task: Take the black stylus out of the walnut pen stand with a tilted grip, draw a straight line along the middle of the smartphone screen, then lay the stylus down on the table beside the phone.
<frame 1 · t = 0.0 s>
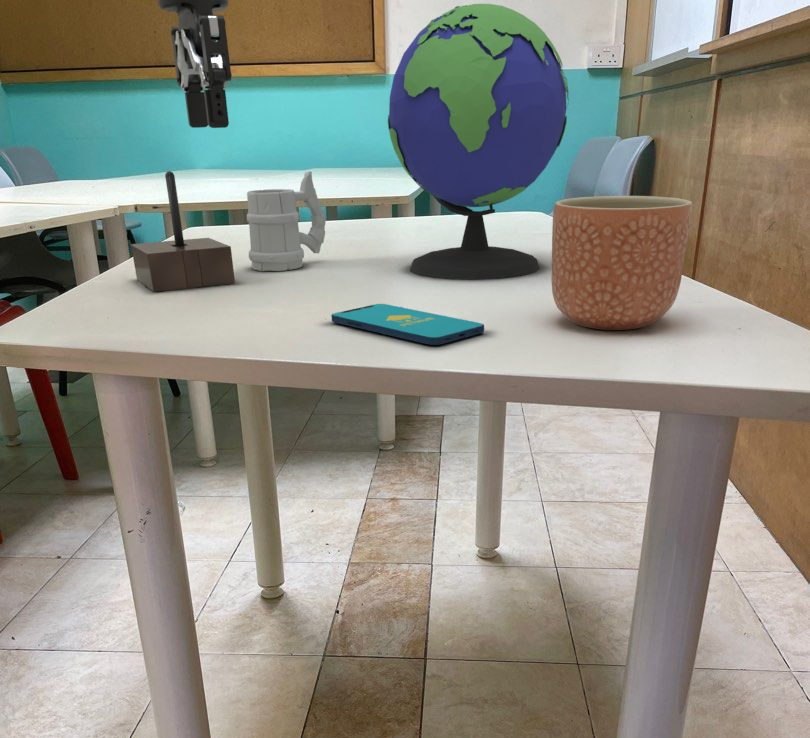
hand: (208, 127, 94), 18 cm above the table, tool pointing down, fingers open, 8 cm apart
globe: (474, 269, 109), on the table
smartphone: (405, 328, 79), on the table
stylus: (177, 228, 102), in the pen stand
mug: (290, 267, 115), on the table
planter: (610, 324, 79), on the table
pen stand: (185, 281, 105), on the table
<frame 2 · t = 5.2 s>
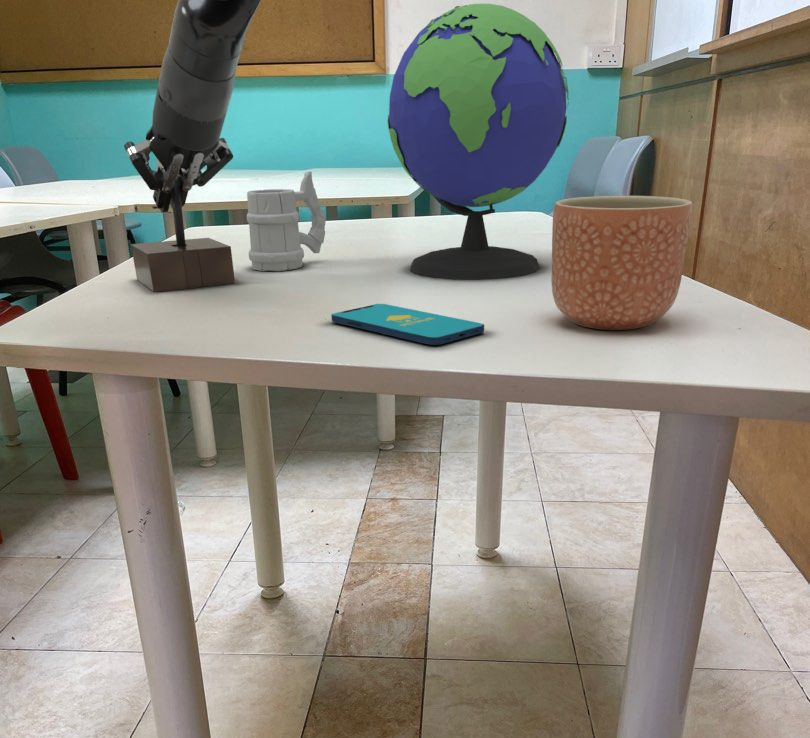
hand: (167, 206, 102), 9 cm above the table, tool tilted 45°, fingers closed on stylus, 1 cm apart
stylus: (179, 228, 102), in the pen stand, tilted 5°, touching gripper
everything else where it was.
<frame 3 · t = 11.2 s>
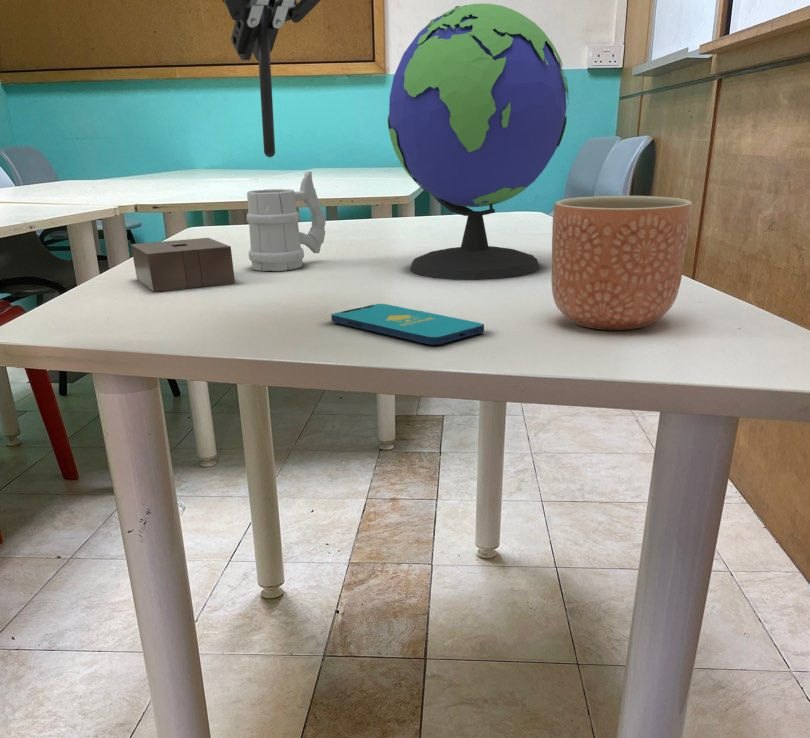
hand: (248, 53, 78), 24 cm above the table, tool tilted 45°, fingers closed on stylus, 1 cm apart
stylus: (265, 81, 77), point 22 cm above the table, touching gripper
everything else where it was.
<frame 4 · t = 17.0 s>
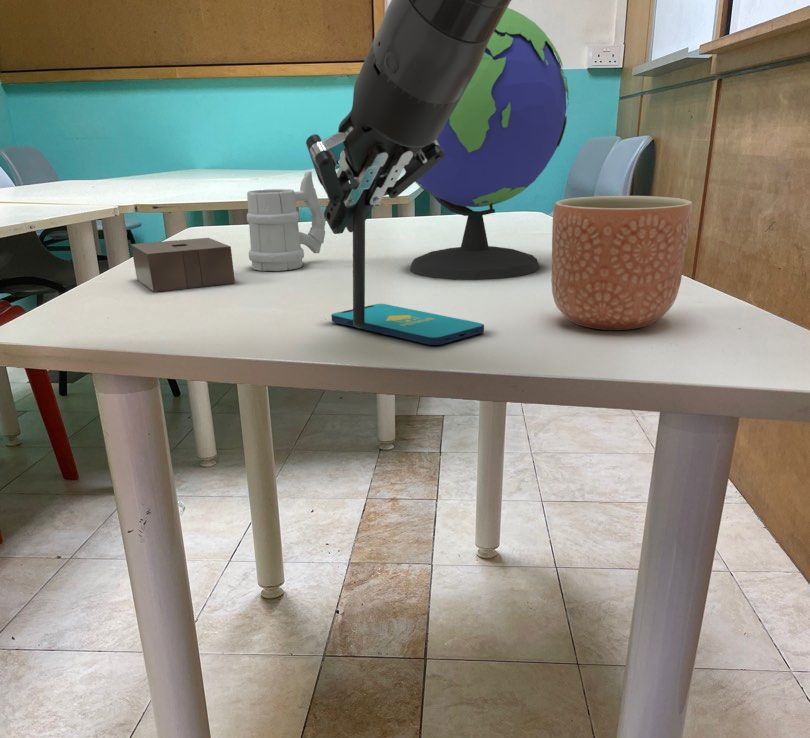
hand: (340, 225, 74), 10 cm above the table, tool tilted 45°, fingers closed on stylus, 1 cm apart
stylus: (358, 256, 73), point 7 cm above the table, tilted 5°, touching gripper
everything else where it was.
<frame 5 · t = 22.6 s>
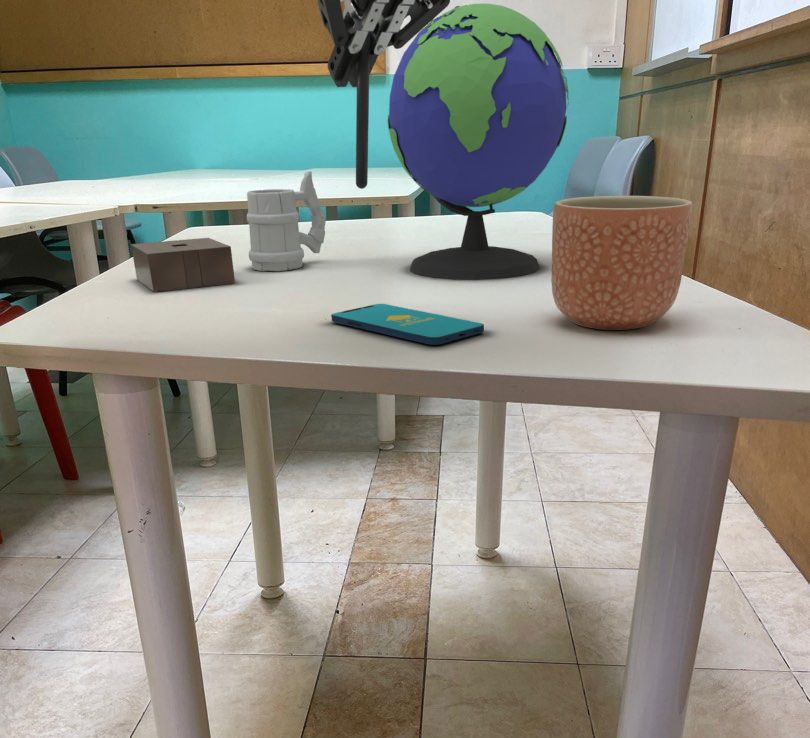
hand: (344, 79, 73), 21 cm above the table, tool tilted 45°, fingers closed on stylus, 1 cm apart
stylus: (362, 110, 73), point 19 cm above the table, tilted 6°, touching gripper
everything else where it was.
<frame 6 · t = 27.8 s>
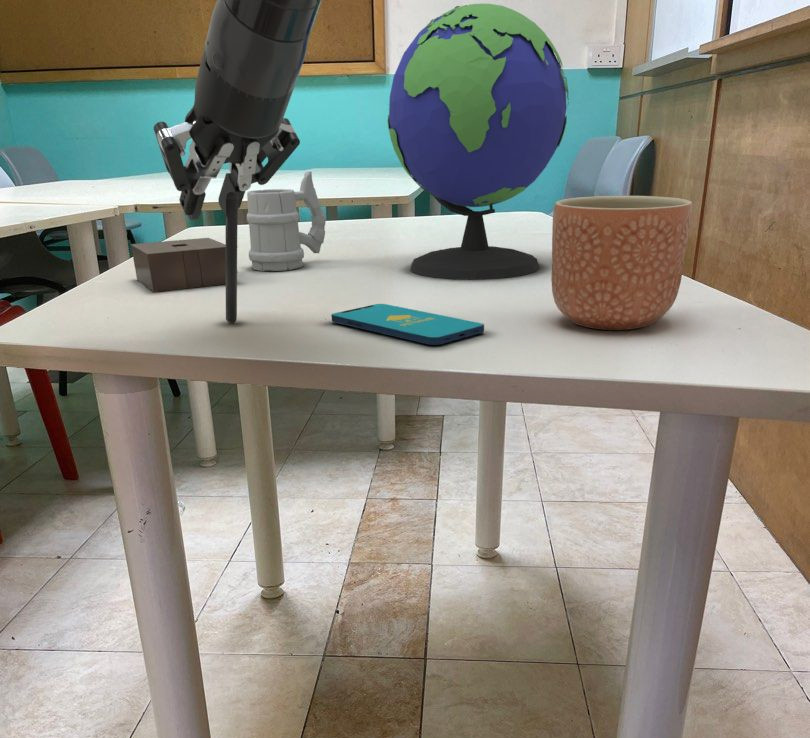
hand: (207, 210, 80), 11 cm above the table, tool tilted 45°, fingers open, 3 cm apart
stylus: (231, 260, 79), on the table, tilted 16°
everything else where it was.
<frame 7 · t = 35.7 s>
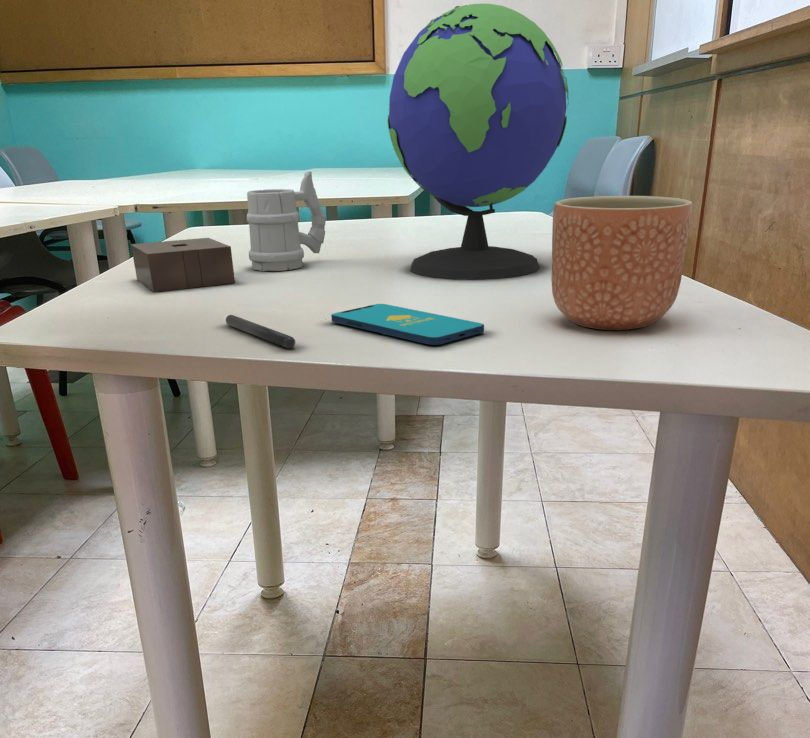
stylus: (258, 330, 77), on the table, tilted 90°
everything else where it was.
at the end: stylus inside the target area (0.9 cm from its centre), point 0.5 cm above the table; stylus tilted 90°; smartphone moved 0.0 cm from its start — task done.
